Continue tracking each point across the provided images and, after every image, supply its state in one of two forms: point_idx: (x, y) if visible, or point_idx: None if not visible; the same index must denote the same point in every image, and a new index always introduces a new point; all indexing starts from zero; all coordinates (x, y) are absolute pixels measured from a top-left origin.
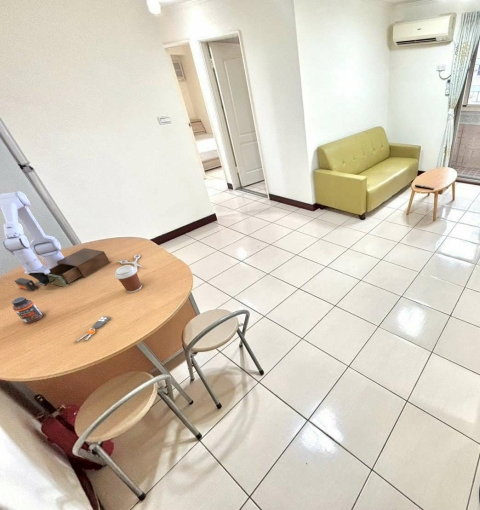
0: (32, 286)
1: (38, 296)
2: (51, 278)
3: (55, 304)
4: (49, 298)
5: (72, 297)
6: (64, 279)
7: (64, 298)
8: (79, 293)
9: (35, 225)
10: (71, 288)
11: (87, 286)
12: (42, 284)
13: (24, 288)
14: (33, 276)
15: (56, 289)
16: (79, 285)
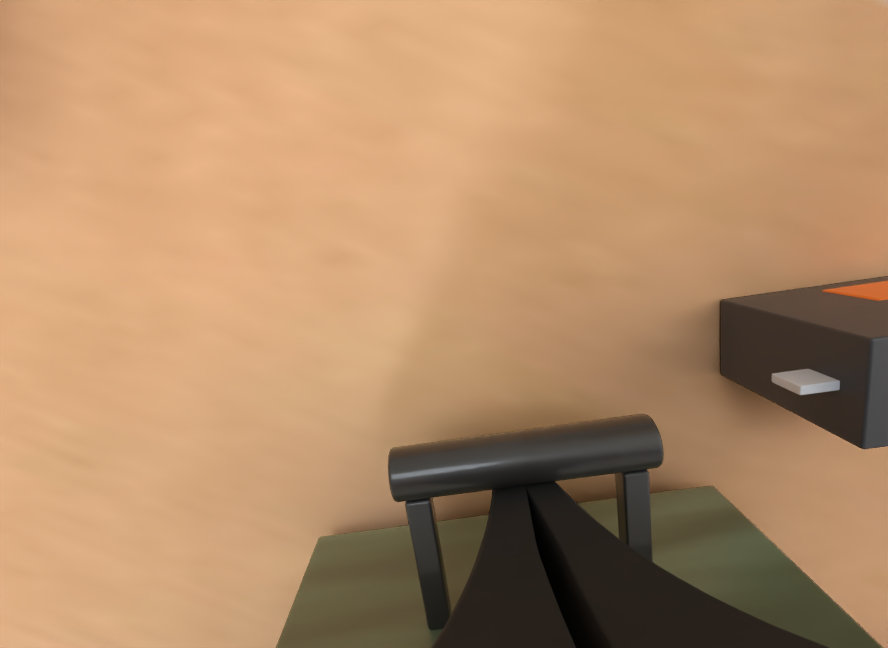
0: (765, 354)
1: (477, 271)
2: None
3: (20, 272)
4: (268, 310)
5: (5, 447)
6: None
7: (75, 394)
8: (28, 525)
9: None
10: (254, 541)
11: (115, 634)
12: (445, 460)
13: (885, 281)
14: (628, 644)
15: None
16: (233, 609)
